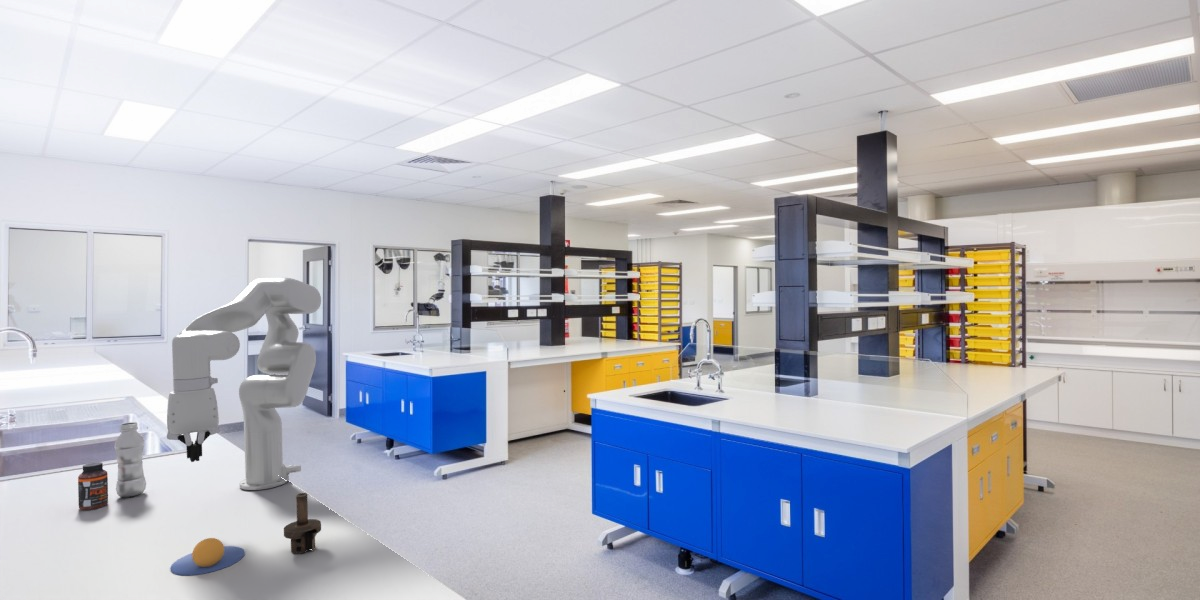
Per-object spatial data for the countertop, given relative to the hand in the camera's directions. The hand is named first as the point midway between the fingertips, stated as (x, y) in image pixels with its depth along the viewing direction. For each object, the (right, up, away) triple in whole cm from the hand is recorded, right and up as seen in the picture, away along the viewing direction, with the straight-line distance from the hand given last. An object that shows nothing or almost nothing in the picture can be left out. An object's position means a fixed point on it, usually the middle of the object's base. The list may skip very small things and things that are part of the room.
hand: (194, 460), depth 147 cm
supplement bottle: (-34, -16, +12) cm, 39 cm away
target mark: (+17, -15, -21) cm, 31 cm away
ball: (+18, -13, -23) cm, 32 cm away
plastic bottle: (-31, -15, +20) cm, 40 cm away
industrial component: (+34, -15, -16) cm, 40 cm away
